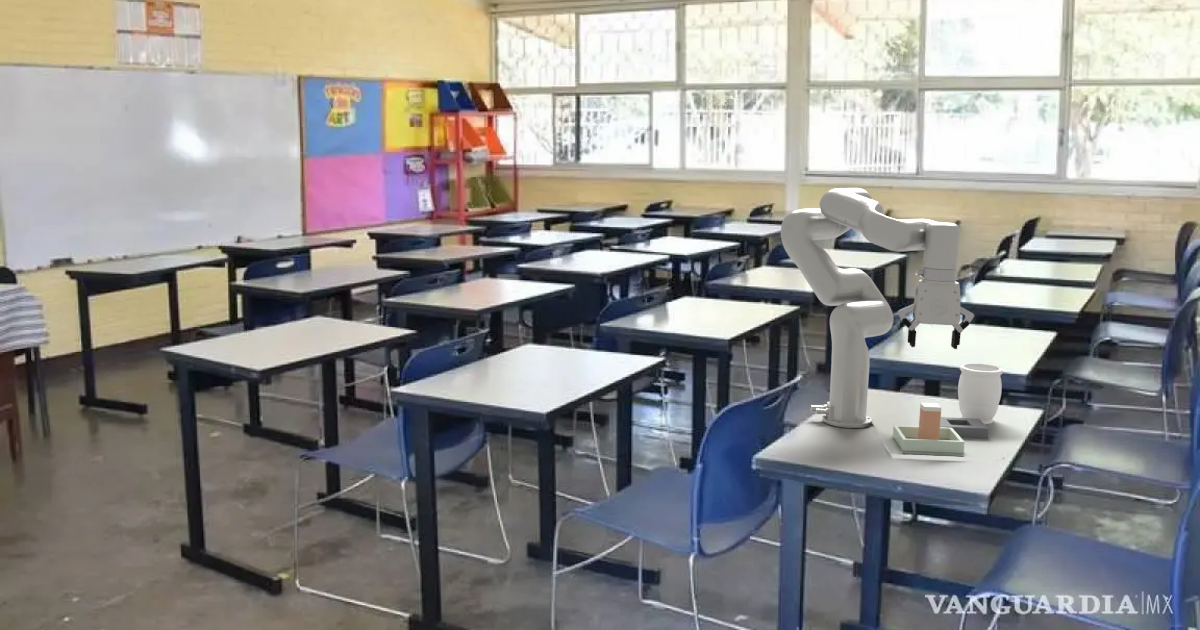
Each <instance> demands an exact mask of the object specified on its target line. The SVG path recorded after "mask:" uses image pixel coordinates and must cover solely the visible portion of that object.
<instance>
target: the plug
mask: <svg viewBox="0 0 1200 630" xmlns="http://www.w3.org/2000/svg"><path fill="white" fill-rule="evenodd" d="M919 406H920V407H919V421H918V426H919V432H918V438H917V439H929V440H940V439H939V433H940V419H941V417H942V407H941V406H940V404H939V403H938V402H920V405H919Z"/></svg>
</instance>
